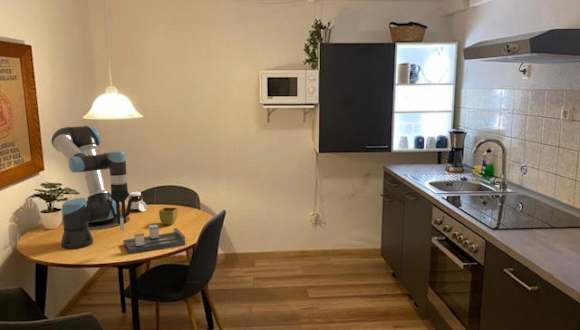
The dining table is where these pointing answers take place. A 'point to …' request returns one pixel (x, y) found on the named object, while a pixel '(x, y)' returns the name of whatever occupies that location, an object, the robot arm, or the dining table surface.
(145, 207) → the spread jar
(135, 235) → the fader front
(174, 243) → the grey tray
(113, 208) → the robot arm
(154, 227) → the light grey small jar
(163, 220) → the flower pot
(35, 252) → the dining table surface
